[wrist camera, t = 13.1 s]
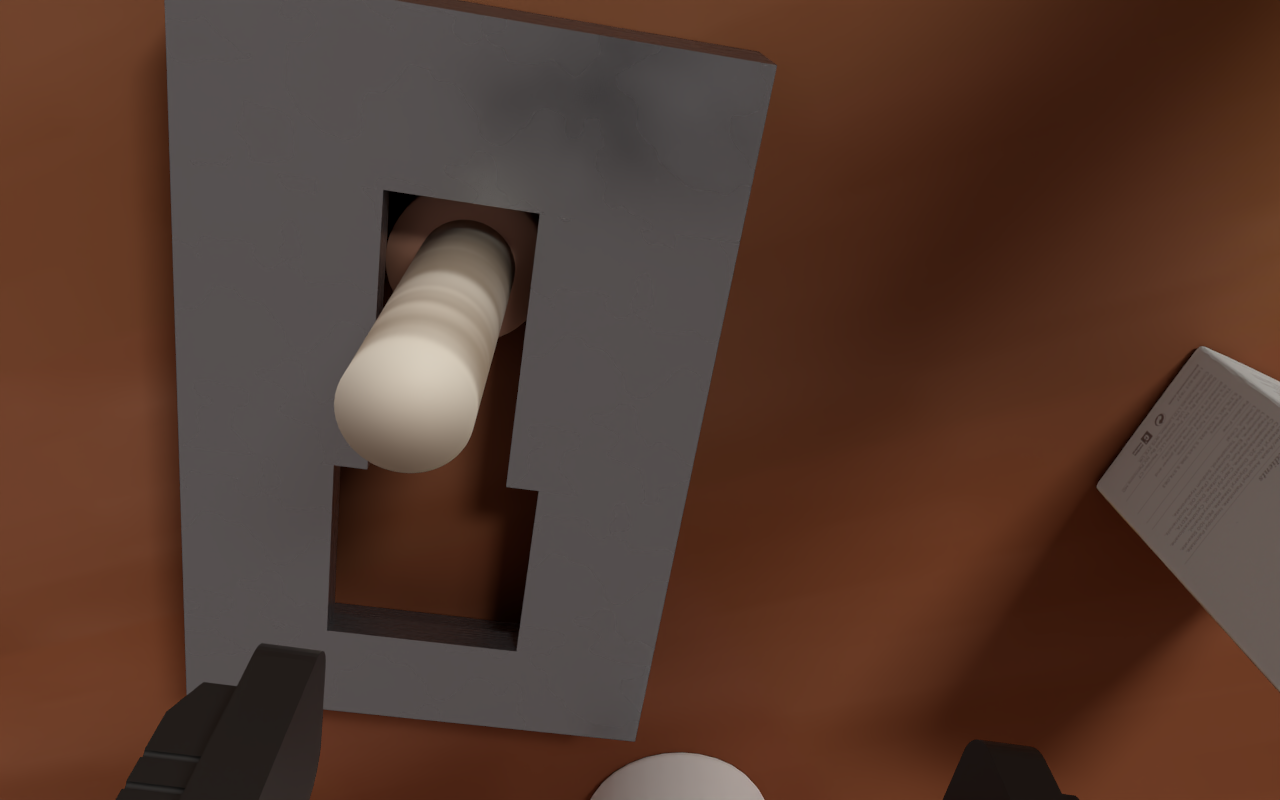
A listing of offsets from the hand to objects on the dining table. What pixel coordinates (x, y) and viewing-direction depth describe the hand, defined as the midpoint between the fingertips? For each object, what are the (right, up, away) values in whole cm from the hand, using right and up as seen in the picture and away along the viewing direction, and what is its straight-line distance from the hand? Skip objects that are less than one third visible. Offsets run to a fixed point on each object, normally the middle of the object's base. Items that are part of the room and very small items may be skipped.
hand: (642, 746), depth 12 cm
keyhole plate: (-6, +5, +22) cm, 23 cm away
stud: (-5, +9, +20) cm, 23 cm away
